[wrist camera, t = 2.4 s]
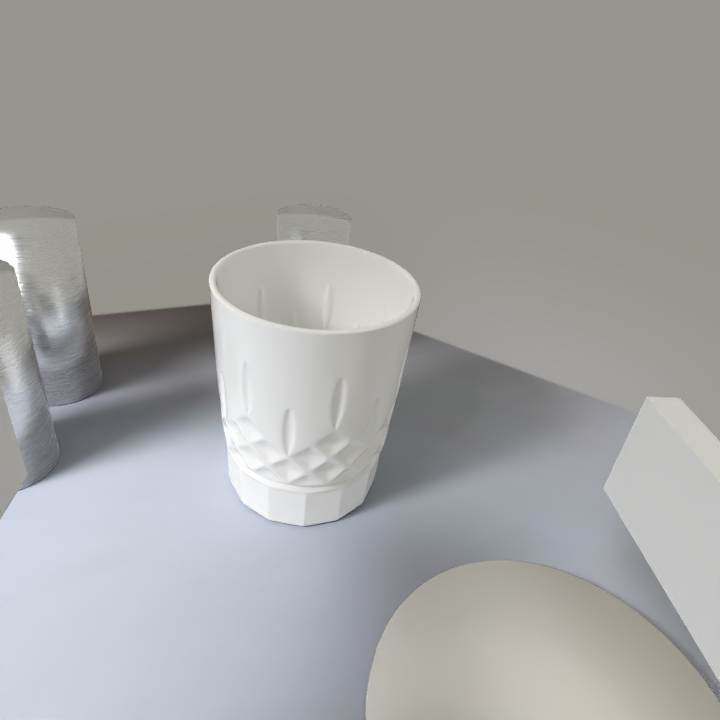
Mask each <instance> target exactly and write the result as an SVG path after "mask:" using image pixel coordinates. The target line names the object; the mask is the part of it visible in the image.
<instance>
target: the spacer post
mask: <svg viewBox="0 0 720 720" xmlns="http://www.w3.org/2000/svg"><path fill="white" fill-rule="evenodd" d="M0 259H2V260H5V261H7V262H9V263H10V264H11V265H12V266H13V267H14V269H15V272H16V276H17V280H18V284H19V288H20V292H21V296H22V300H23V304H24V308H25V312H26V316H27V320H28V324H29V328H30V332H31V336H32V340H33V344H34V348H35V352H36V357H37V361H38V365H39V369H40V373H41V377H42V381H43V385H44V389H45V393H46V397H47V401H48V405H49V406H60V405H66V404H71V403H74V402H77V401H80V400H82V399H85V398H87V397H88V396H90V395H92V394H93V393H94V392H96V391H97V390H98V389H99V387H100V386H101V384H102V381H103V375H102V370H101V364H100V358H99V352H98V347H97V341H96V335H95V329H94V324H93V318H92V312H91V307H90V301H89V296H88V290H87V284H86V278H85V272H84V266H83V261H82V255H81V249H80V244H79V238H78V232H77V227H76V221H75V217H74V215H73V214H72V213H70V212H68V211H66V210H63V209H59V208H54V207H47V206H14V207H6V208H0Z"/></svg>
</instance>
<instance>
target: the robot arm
mask: <svg viewBox="0 0 720 720" xmlns="http://www.w3.org/2000/svg"><path fill="white" fill-rule="evenodd" d="M27 475H28V474H27V471H26V468H25V464H24V461H23V458H22V455H21V451H20V448H19V445H18V441H17V438H16V435H15V431H14V428H13V425H12V422H11V418H10V415H9V412H8V408H7V405H6V402H5V399H4V395H3V392H2V389H1V385H0V519H1V517H2V516H3V514H4V512H5V511H6V509H7V508H8V506H9V504H10V503H11V501H12V499H13V498H14V496H15V494H16V493H17V491H18V490H19V488H20V486H21V485H22V483H23V481H24V480H25V478H26V477H27ZM603 489H604V490H605V492H606V494H607V495H608V497H609V499H610V500H611V502H612V504H613V505H614V507H615V509H616V510H617V512H618V514H619V515H620V517H621V519H622V520H623V522H624V524H625V525H626V527H627V529H628V530H629V532H630V534H631V535H632V537H633V539H634V540H635V542H636V544H637V545H638V547H639V549H640V550H641V552H642V554H643V555H644V557H645V559H646V560H647V562H648V564H649V565H650V567H651V569H652V570H653V572H654V574H655V575H656V577H657V579H658V580H659V582H660V584H661V585H662V587H663V589H664V591H665V592H666V594H667V596H668V597H669V599H670V601H671V602H672V604H673V606H674V607H675V609H676V611H677V612H678V614H679V616H680V617H681V619H682V621H683V622H684V624H685V626H686V627H687V629H688V631H689V632H690V634H691V636H692V637H693V639H694V641H695V642H696V644H697V646H698V647H699V649H700V651H701V652H702V654H703V656H704V657H705V659H706V661H707V662H708V664H709V666H710V667H711V669H712V671H713V672H714V674H715V676H716V677H717V679H718V681H719V682H720V441H719V440H718V439H717V438H716V437H715V436H714V434H712V432H711V431H710V430H709V429H708V428H707V427H706V426H705V425H704V424H703V423H702V422H701V420H699V418H698V417H697V416H696V415H695V414H694V413H693V412H692V411H691V410H690V409H689V408H688V407H687V405H686V404H685V403H684V402H683V401H682V400H681V399H680V398H668V397H646V399H645V401H644V403H643V405H642V407H641V409H640V411H639V414H638V416H637V418H636V420H635V422H634V424H633V426H632V428H631V430H630V433H629V435H628V437H627V439H626V441H625V443H624V445H623V447H622V449H621V452H620V454H619V456H618V458H617V460H616V462H615V464H614V466H613V468H612V471H611V473H610V475H609V477H608V479H607V481H606V483H605V485H604V487H603Z"/></svg>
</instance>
